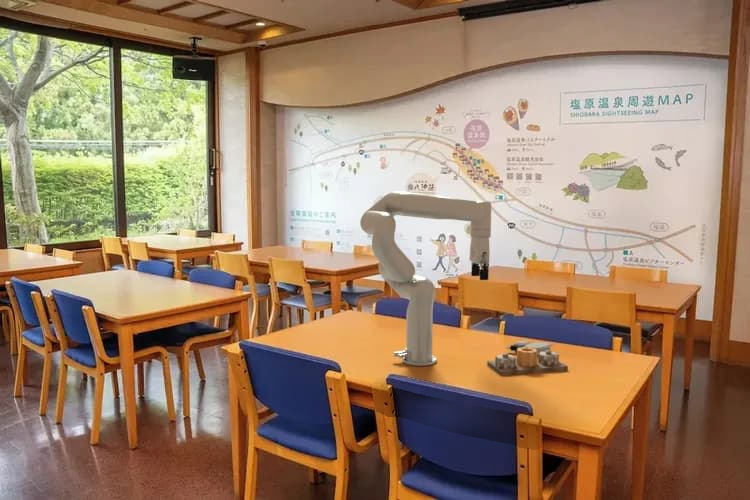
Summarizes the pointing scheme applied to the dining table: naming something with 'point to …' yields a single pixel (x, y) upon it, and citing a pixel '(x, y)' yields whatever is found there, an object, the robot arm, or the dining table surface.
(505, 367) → the gear board
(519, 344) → the robot toy
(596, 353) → the dining table surface
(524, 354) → the orange gear
